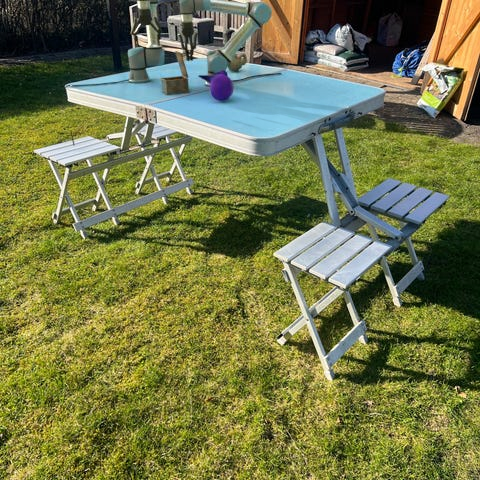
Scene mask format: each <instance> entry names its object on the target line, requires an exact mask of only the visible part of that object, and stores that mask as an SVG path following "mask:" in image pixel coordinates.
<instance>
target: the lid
mask: <svg viewBox="0 0 480 480" xmlns="http://www.w3.org/2000/svg"><path fill="white" fill-rule="evenodd" d="M188 51H189V53H188V54H186V55H185V52H181V51H178V50H175V51H174V52H175V55H176V59H177V62H178V67H179V70H180V73H181V76H184V77H186V78H188V79H189V78H190V77H189V75H188V70H187V67H186V64H185V60H184V57H187V55H189V56H190V55H192V52H190V50H188ZM192 56H193V55H192Z"/></svg>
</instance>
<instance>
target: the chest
mask: <svg viewBox="0 0 480 480" xmlns="http://www.w3.org/2000/svg"><path fill="white" fill-rule="evenodd" d="M160 79H161V87H162V88H161V89H162V93H164V94H165V95H167V96H168V95H179V94H185V93H186V94H187V93H190V87H189V78H186V77H185V76H183V75H180V76H169V77H161V78H160Z"/></svg>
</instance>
